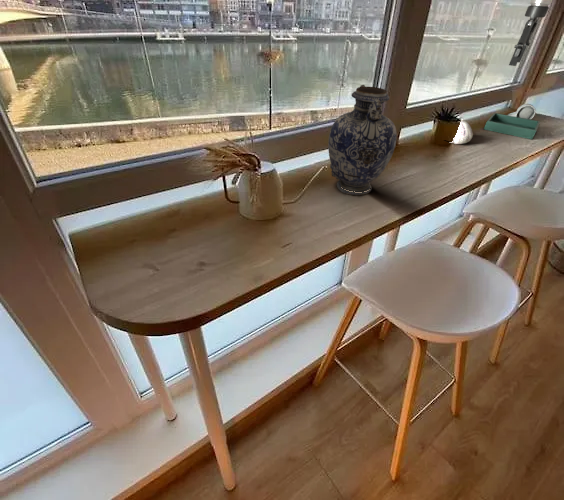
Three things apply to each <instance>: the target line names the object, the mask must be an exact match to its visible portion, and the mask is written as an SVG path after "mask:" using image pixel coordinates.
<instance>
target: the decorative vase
mask: <svg viewBox="0 0 564 500" xmlns="http://www.w3.org/2000/svg"><path fill="white" fill-rule="evenodd" d="M387 93H388V91H387V90H386V89H384V88H381V87H376V86H366V85H365V84H361V85H360V86H358V87H357V88H356V89H355V91H353V92H352V93H351V98H353V99H354V101H355V103H354V105H353V110H352V111H349V112H346V113H343V114H341V115H340V116H338V117H337V118H336V119H335V121H334V122H333V123H332V125H331V128H330V131H329V136H328V141H327V142H328V143H327V147H328V148H327V150H328V157H329V161H330V165H329V168H330V169H331V176H332V177H334V178H335V179H337V180H338V181H337V182H336V188H337V189H338V191H340V192H341V193H343V194H346V195H350V196H364V195H368V194H369V193H370V192H371V191H372V184H371V183H372V182H374V181H375V180H376V179H378V178H379V177H380V176H381V174H382V173H383V172H384V170H385V169H386V168H387V166H388V164H389V163H390V161H391V159H392V157H393V154H394V153H395V152H394V151H395V148H396V145H397V138H398V137H397V136H398V134H397V132H398V131H397V128H396V126H395V123H394V122H393V120H391V119H390V118H388V117H387V116H386V115H384V114H382V113H383V108H384V107H383V106H384V105H383V104H384V103H385V102H388V101H389V100H390V96H389V95H388V94H387ZM341 187H342V188H343V189H342V188H341ZM370 188H371V189H370ZM344 189H346V190H349V191H353V192H349V191H346V190H344ZM369 189H370V190H369ZM367 190H369V191H367ZM354 191H355V192H362V193H355V192H354ZM364 191H367V192H364Z"/></svg>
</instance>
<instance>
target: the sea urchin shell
mask: <svg viewBox="0 0 564 500" xmlns="http://www.w3.org/2000/svg"><path fill="white" fill-rule="evenodd" d="M460 120H461V122H460V125H459V127H458V130H457V133H456V135H455V137H454V138H453V141H452V142H450V143H451V144H455V145H462V144H467V143H469V142H470V141H471V140H472V138H473V137H474V136H473V135H474V132H473V129H472V126H471V125H470V124H469V122H467V121H466V120H462V119H460Z"/></svg>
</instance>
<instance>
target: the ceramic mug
mask: <svg viewBox="0 0 564 500" xmlns="http://www.w3.org/2000/svg"><path fill="white" fill-rule="evenodd" d="M536 111H537V110H536V108H535V106H534V105H533V104H531V103H524V104H521V105H520V106H519V107H518V108H517V110H516V111H513V112H511V113H508V114H507V115H509V116H514V117H520V118H525V119H530V120H533V118H534V117H535V116H536Z"/></svg>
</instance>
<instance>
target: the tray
mask: <svg viewBox="0 0 564 500" xmlns="http://www.w3.org/2000/svg"><path fill="white" fill-rule="evenodd" d="M540 123H541V120H535V119H531V120H530V119H525V118H520V117H514V116H509V115H508V114H503V113H497V112H493V114H491V116H490V117H489V118H488V119H487V121H486V123H485V125H484V127H483V130H484V131H489V132H494V133H500V134H504V135H508V136H514V137H519V138H522V139H528V140H533V138H534V137H535V135H536V133H537V131H538V129H539V126H540Z"/></svg>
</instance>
